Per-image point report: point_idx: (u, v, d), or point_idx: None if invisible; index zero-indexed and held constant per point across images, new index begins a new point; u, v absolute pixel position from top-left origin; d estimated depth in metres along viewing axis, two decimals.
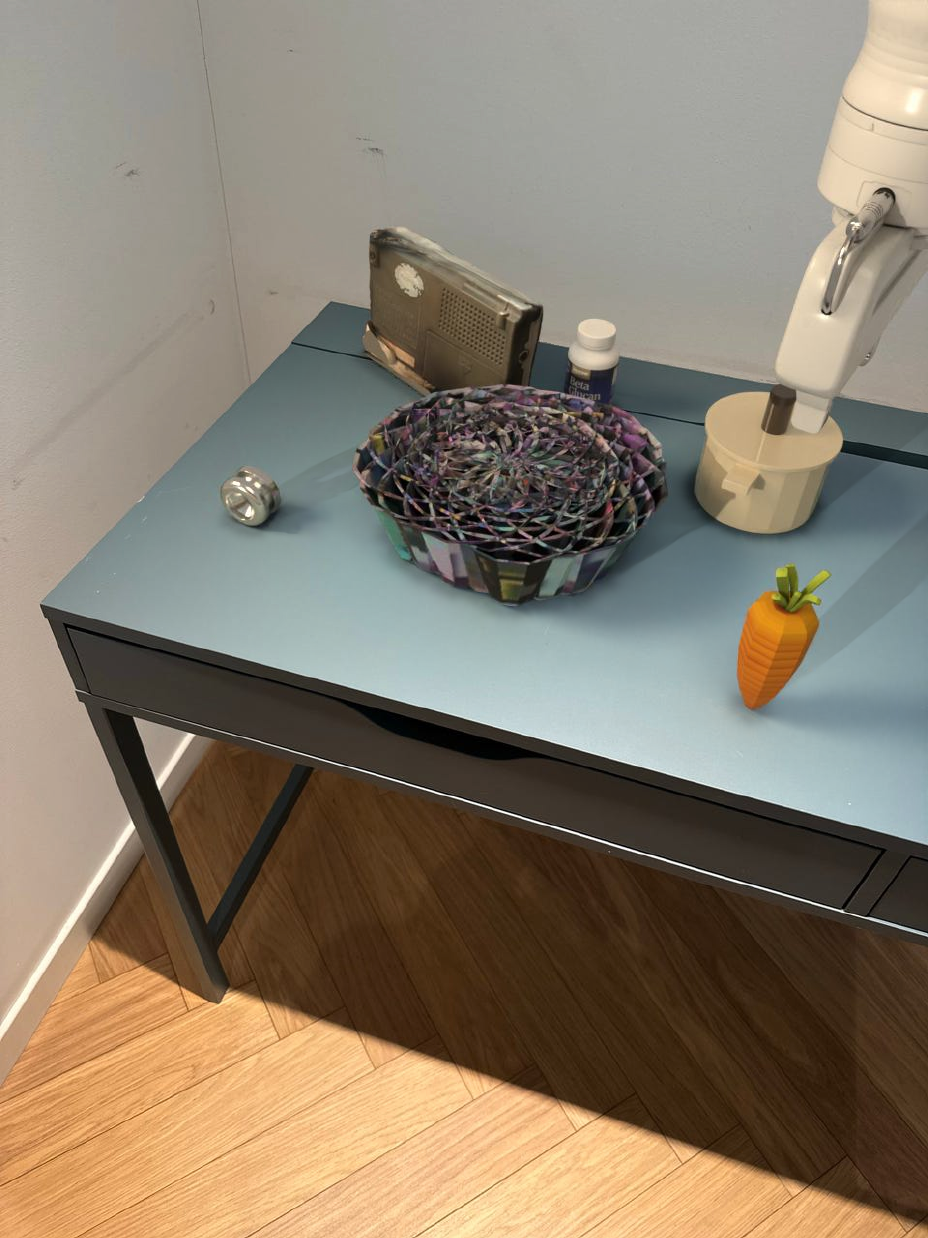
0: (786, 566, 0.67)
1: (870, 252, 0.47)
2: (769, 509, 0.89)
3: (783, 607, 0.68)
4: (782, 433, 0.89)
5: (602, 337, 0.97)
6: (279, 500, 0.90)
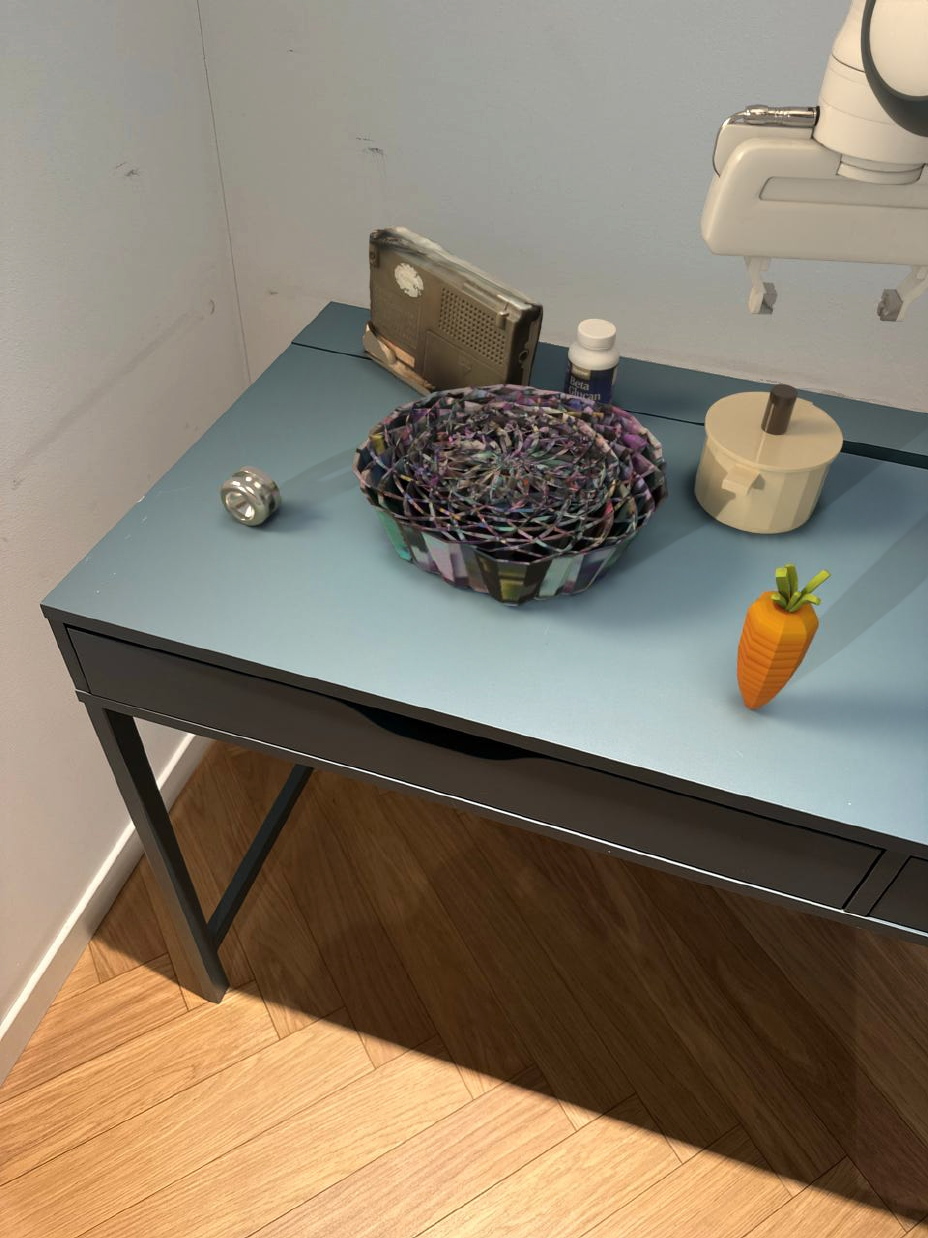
0: (786, 566, 0.67)
1: (759, 139, 0.61)
2: (769, 509, 0.89)
3: (783, 607, 0.68)
4: (782, 433, 0.89)
5: (602, 337, 0.97)
6: (279, 500, 0.90)
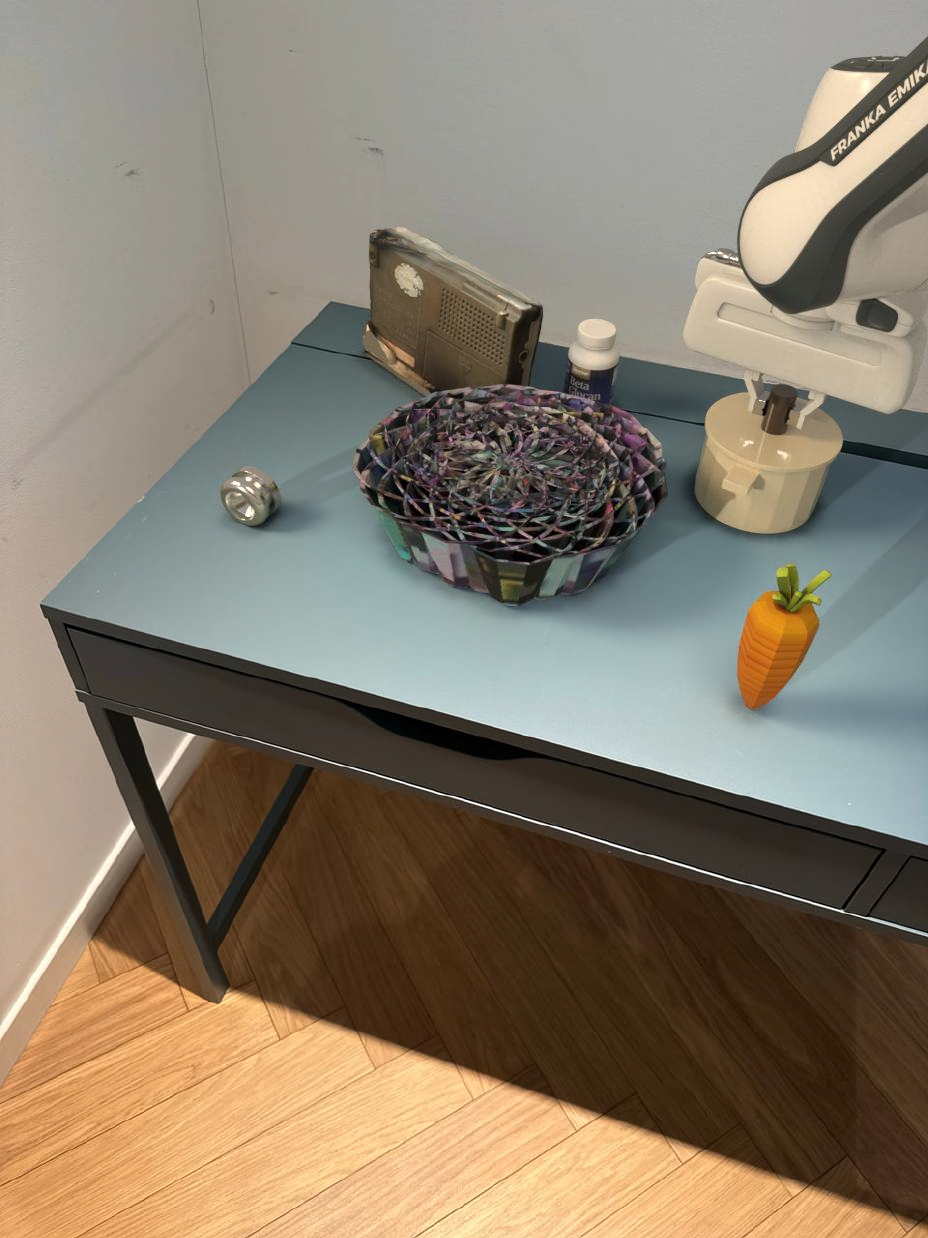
0: (787, 566, 0.67)
1: (722, 273, 0.83)
2: (769, 509, 0.89)
3: (783, 607, 0.68)
4: (782, 433, 0.89)
5: (602, 337, 0.97)
6: (279, 500, 0.90)
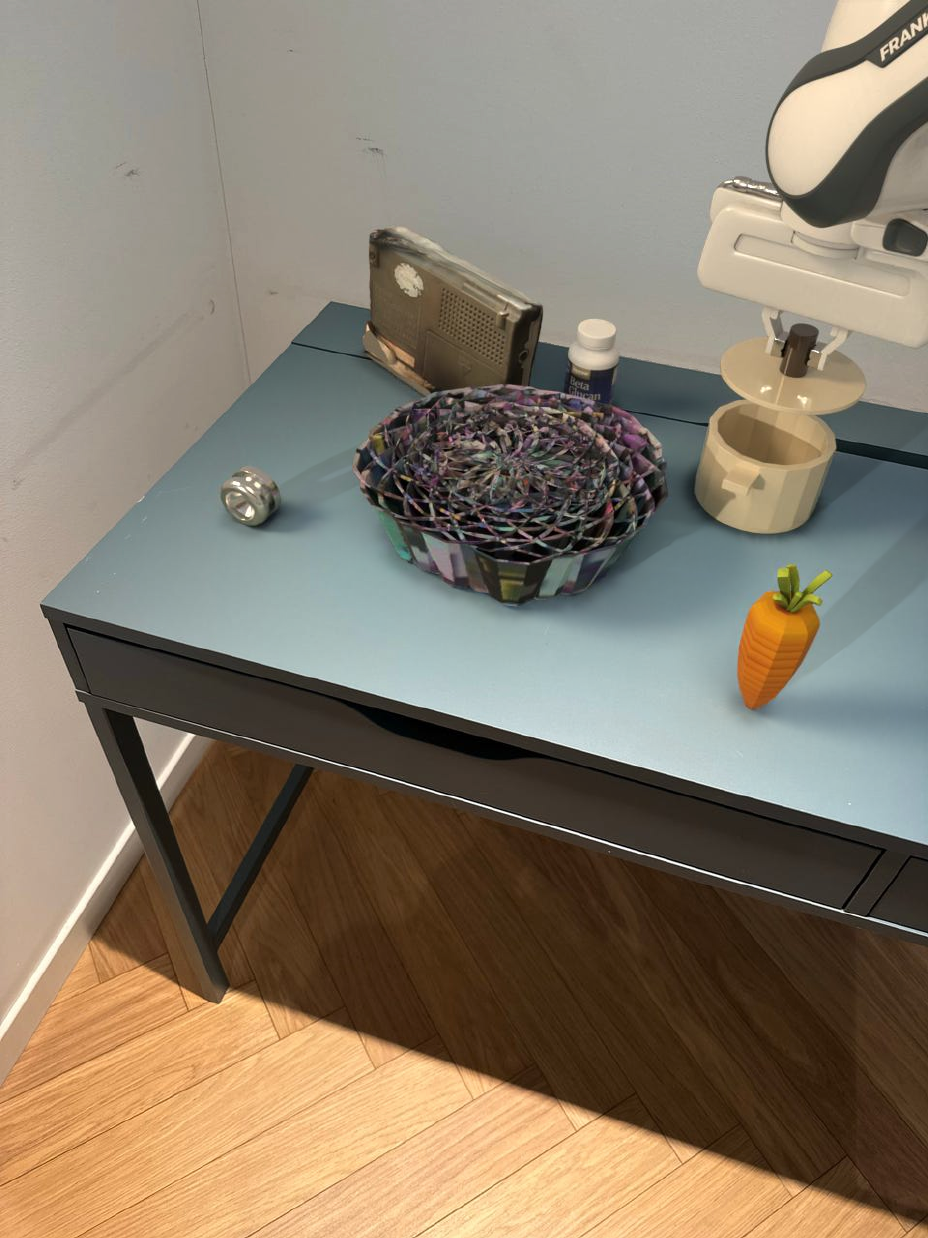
0: (787, 566, 0.67)
1: (739, 203, 0.79)
2: (769, 509, 0.89)
3: (784, 607, 0.68)
4: (802, 376, 0.84)
5: (602, 337, 0.97)
6: (279, 500, 0.90)
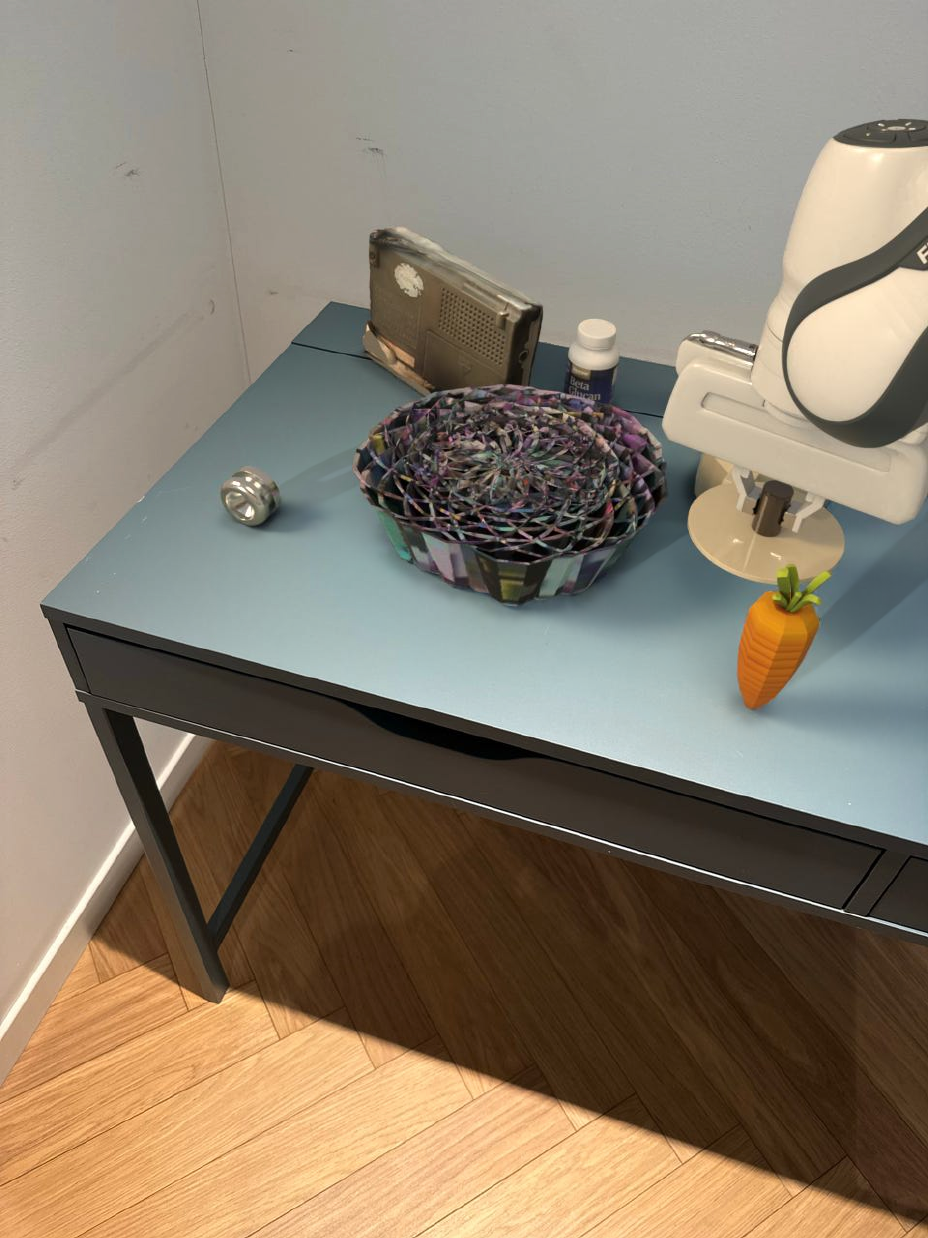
0: (787, 566, 0.67)
1: (706, 359, 0.72)
2: None
3: (784, 607, 0.68)
4: (776, 535, 0.78)
5: (602, 337, 0.97)
6: (279, 500, 0.90)
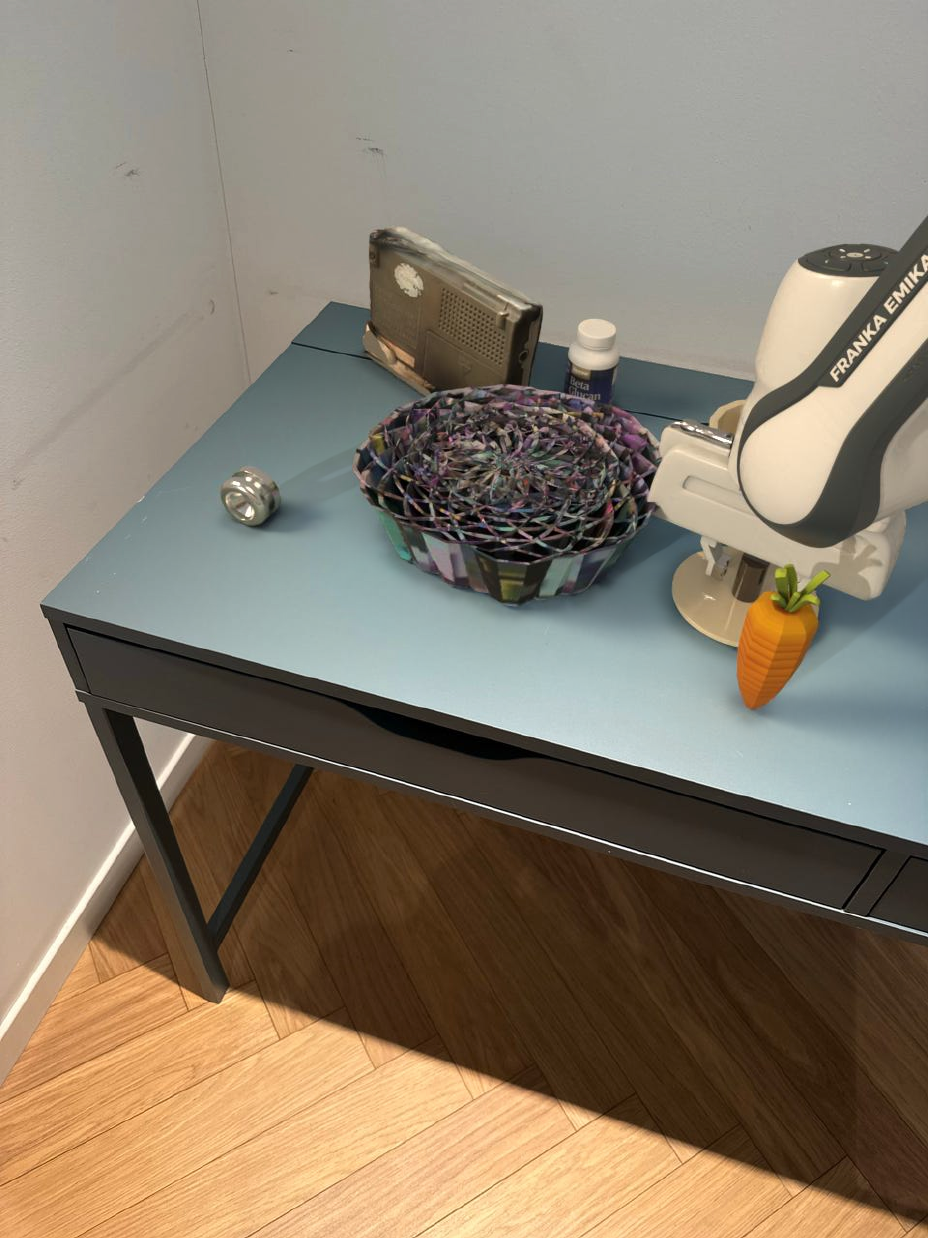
0: (785, 566, 0.67)
1: (687, 445, 0.77)
2: None
3: (782, 607, 0.68)
4: (754, 601, 0.83)
5: (602, 337, 0.97)
6: (279, 500, 0.90)
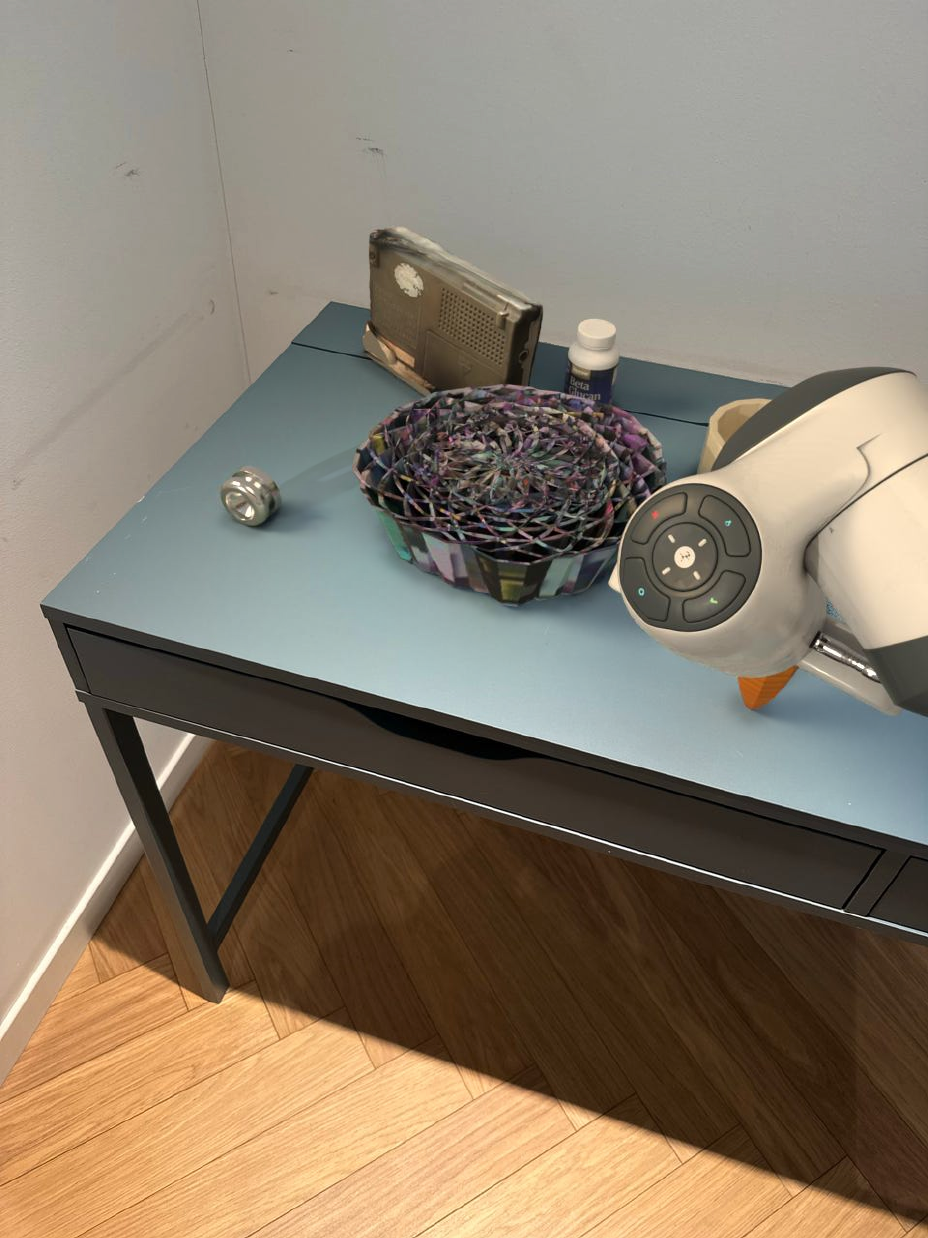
0: None
1: None
2: None
3: None
4: None
5: (602, 337, 0.97)
6: (279, 500, 0.90)
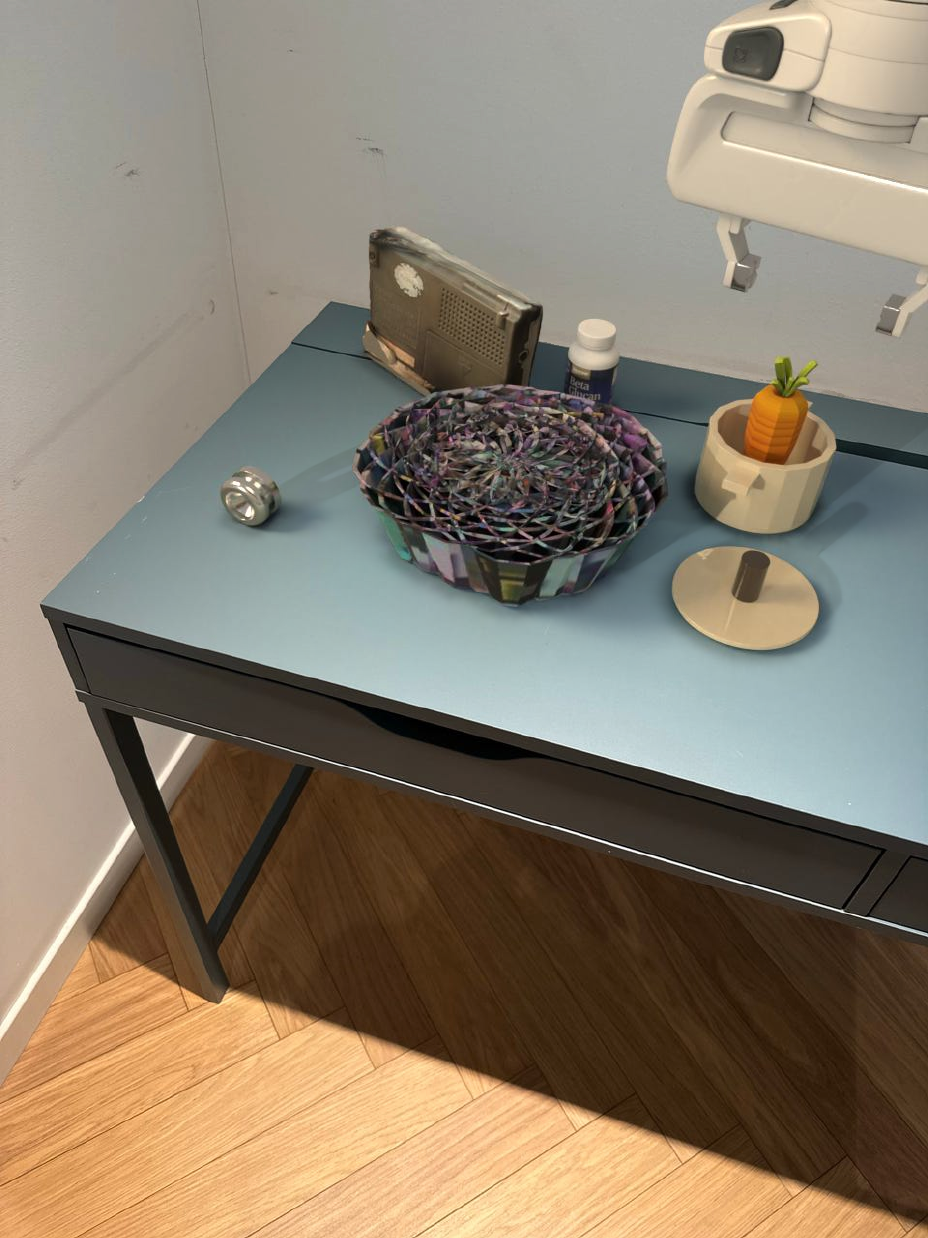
0: None
1: None
2: (769, 509, 0.89)
3: (780, 393, 0.87)
4: (754, 601, 0.83)
5: (602, 337, 0.97)
6: (279, 500, 0.90)
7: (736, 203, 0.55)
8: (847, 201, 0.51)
